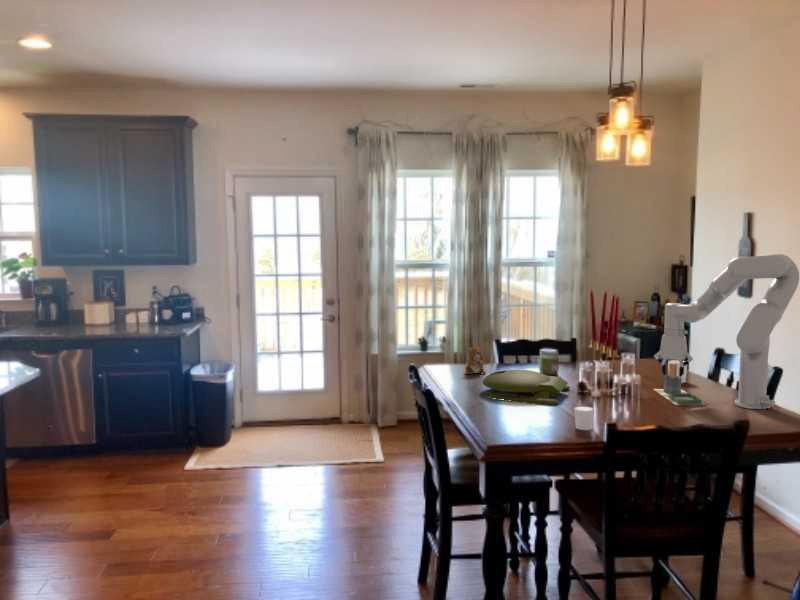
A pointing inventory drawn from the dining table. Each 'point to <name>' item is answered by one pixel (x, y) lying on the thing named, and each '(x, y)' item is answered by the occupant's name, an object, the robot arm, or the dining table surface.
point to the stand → (678, 393)
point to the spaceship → (526, 386)
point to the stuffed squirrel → (475, 362)
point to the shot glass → (584, 417)
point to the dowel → (672, 370)
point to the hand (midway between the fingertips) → (672, 374)
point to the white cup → (683, 377)
